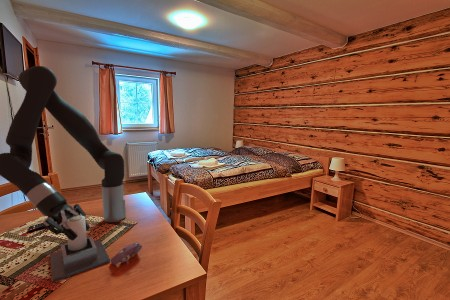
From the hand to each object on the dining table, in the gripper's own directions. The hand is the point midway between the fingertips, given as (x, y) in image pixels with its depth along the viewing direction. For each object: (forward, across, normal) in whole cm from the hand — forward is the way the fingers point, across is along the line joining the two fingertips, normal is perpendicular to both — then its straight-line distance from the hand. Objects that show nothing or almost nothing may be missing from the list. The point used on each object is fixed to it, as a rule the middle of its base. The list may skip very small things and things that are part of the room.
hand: (81, 233), depth 78 cm
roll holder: (+6, 0, +8) cm, 10 cm away
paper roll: (+2, 0, +5) cm, 5 cm away
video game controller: (+18, +2, -3) cm, 18 cm away
